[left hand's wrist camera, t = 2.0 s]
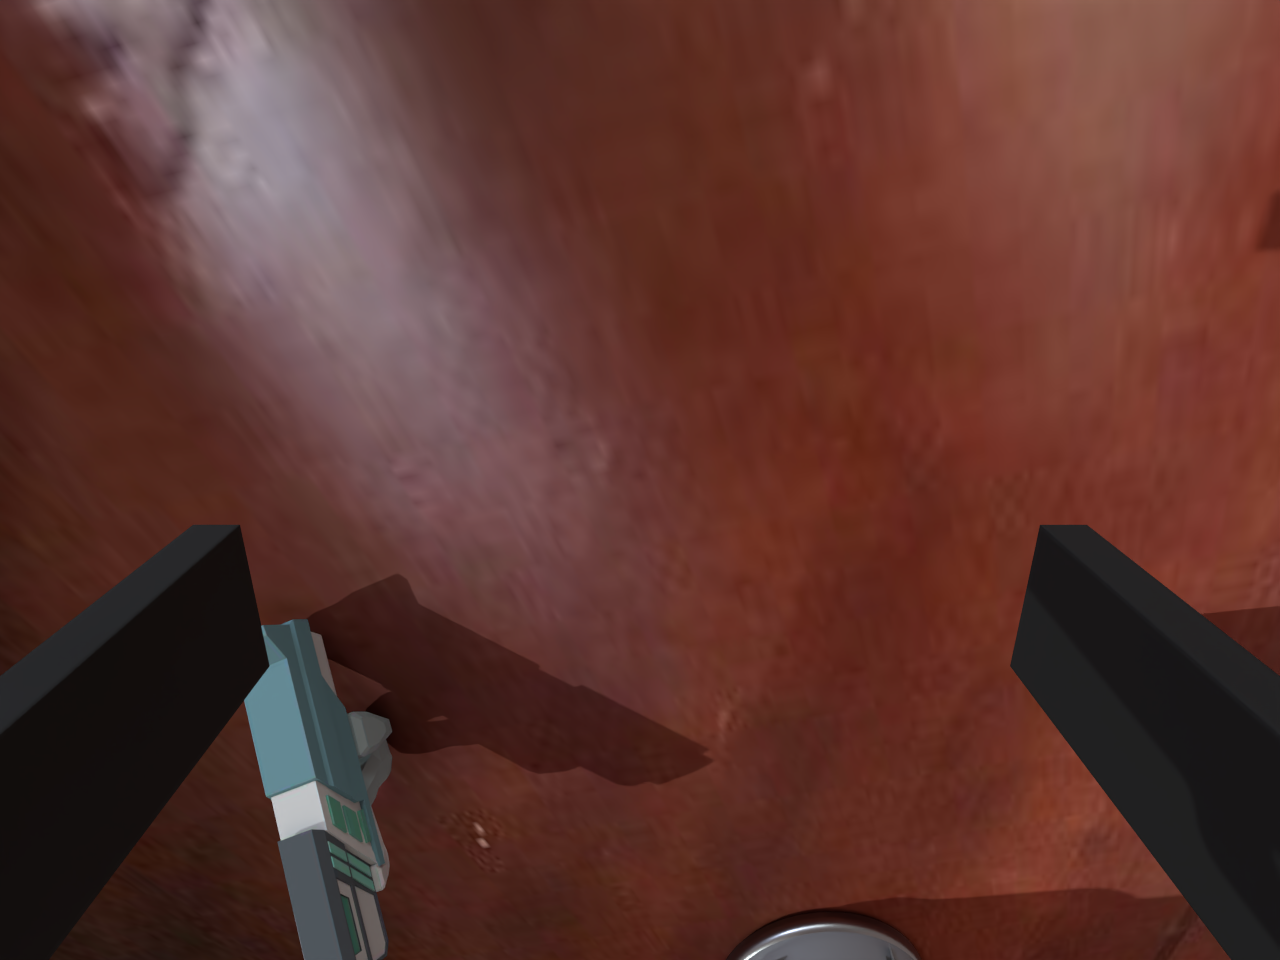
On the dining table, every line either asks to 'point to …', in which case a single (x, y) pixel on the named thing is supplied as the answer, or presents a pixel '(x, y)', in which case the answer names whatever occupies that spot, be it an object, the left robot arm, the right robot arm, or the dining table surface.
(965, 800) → the dining table surface
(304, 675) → the toy gun
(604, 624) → the dining table surface
